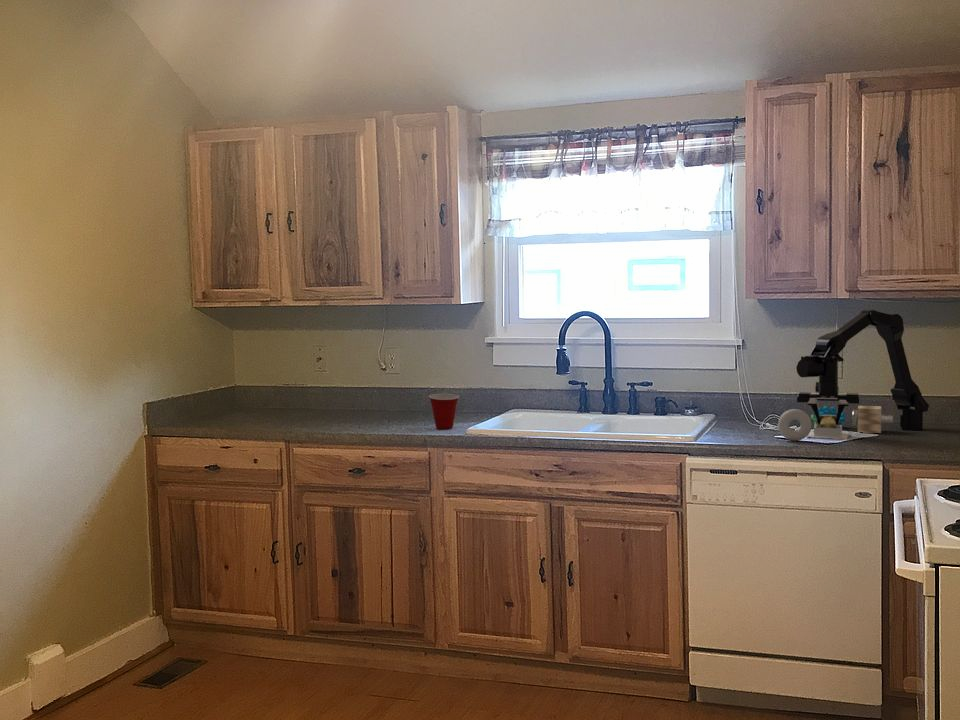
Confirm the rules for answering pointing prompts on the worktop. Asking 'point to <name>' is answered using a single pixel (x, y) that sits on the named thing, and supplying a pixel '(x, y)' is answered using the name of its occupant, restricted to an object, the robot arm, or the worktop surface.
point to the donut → (794, 415)
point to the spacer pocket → (828, 432)
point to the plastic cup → (444, 409)
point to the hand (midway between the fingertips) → (828, 424)
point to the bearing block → (869, 419)
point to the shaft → (883, 417)
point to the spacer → (828, 421)
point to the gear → (828, 412)
